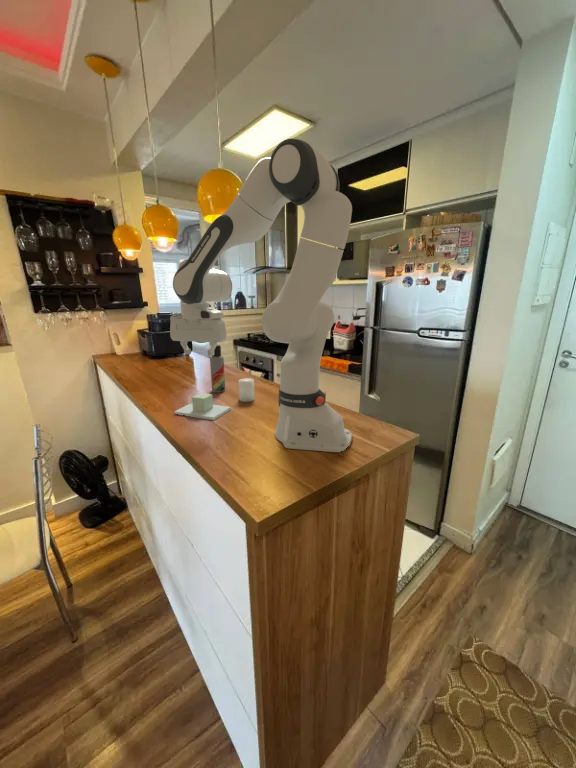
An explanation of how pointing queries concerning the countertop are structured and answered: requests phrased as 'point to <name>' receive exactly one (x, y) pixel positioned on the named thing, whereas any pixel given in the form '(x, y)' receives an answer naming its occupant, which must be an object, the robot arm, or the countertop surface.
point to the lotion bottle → (217, 370)
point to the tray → (209, 415)
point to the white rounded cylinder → (246, 390)
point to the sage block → (202, 402)
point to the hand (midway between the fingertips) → (199, 354)
